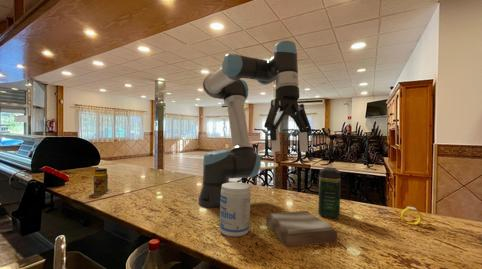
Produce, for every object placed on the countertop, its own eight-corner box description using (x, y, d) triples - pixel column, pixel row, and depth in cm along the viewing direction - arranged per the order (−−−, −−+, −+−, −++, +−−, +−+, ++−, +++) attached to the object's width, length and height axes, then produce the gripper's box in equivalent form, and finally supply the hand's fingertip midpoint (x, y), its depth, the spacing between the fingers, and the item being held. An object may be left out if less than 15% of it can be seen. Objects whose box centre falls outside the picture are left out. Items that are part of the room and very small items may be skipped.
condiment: (92, 194, 106) (93, 170, 107) (92, 191, 113) (92, 167, 113) (109, 192, 111) (110, 169, 111) (108, 189, 118) (108, 166, 118)
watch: (418, 224, 80) (419, 208, 80) (422, 227, 77) (424, 210, 77) (399, 221, 82) (400, 205, 81) (402, 223, 79) (404, 207, 79)
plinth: (266, 224, 76) (266, 212, 76) (307, 220, 80) (307, 209, 80) (287, 247, 61) (287, 232, 61) (336, 241, 65) (337, 228, 65)
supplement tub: (214, 234, 68) (215, 186, 68) (227, 223, 76) (228, 180, 76) (243, 240, 64) (244, 190, 64) (253, 227, 73) (254, 183, 73)
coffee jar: (340, 220, 81) (341, 170, 81) (317, 217, 84) (318, 168, 84) (339, 212, 90) (340, 167, 90) (319, 209, 93) (320, 165, 93)
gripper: (268, 76, 63) (271, 150, 60) (319, 91, 78) (323, 151, 75) (251, 84, 69) (253, 152, 66) (301, 96, 84) (305, 152, 81)
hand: (290, 151), depth 71 cm, fingers open, 13 cm apart
